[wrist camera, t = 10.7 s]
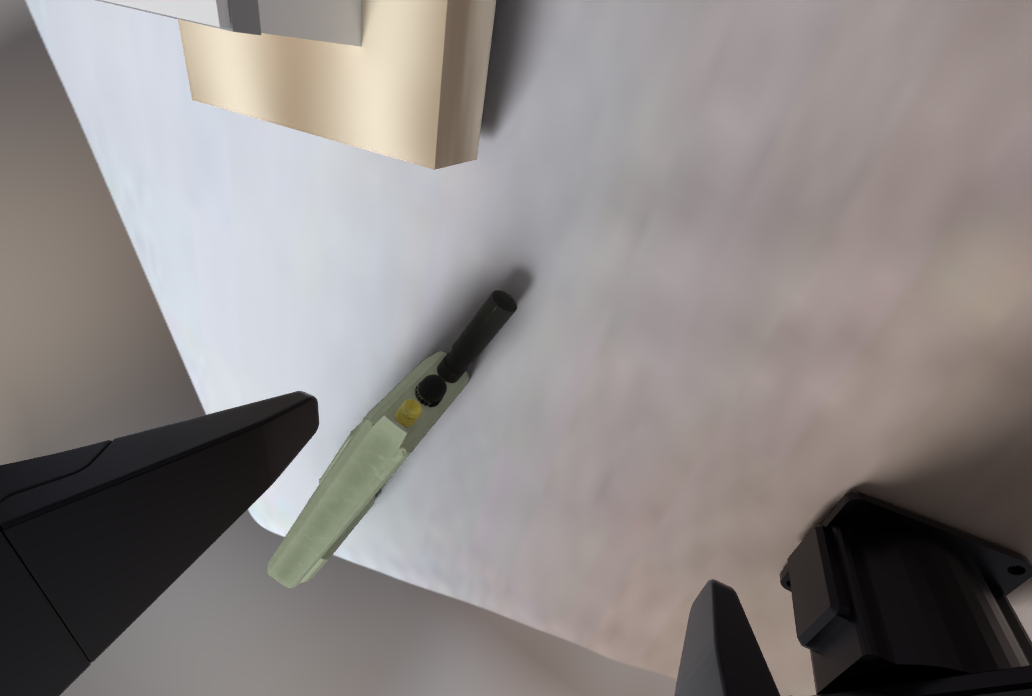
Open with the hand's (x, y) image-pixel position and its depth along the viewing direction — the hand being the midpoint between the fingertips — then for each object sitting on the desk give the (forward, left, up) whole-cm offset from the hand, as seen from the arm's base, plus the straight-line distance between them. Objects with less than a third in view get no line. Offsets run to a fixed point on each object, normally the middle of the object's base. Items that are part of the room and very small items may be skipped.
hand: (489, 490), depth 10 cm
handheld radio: (+9, +13, -12) cm, 20 cm away
